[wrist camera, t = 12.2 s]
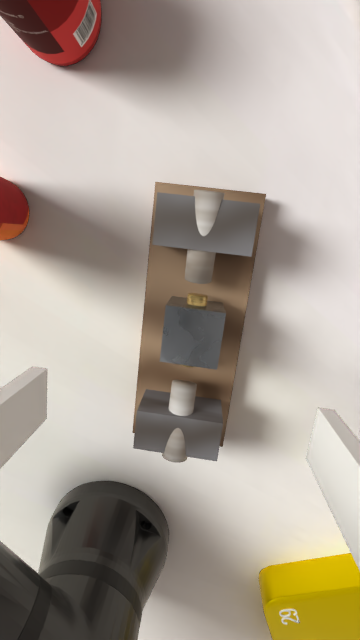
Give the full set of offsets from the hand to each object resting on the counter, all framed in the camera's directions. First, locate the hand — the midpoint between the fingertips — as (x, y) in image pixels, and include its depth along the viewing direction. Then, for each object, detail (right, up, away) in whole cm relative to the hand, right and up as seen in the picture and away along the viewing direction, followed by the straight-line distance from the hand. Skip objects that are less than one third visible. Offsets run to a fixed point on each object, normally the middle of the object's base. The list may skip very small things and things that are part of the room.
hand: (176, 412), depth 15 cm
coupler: (+2, +4, +16) cm, 17 cm away
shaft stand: (+2, +4, +18) cm, 19 cm away
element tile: (+19, -32, +26) cm, 46 cm away
